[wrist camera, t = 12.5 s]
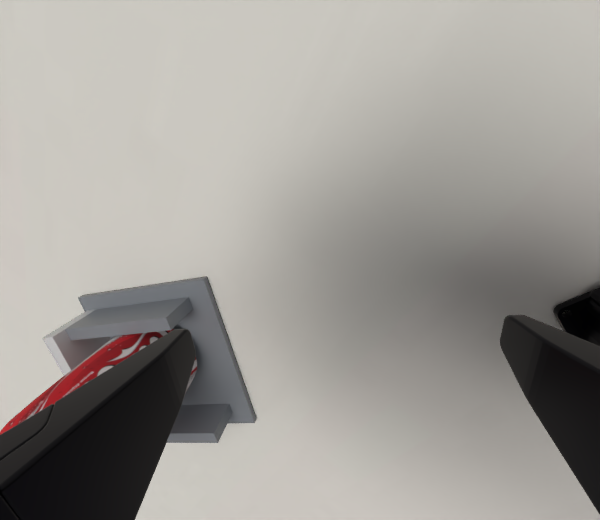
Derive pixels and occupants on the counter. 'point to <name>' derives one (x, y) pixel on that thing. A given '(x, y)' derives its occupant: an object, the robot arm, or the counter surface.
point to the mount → (161, 317)
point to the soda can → (92, 371)
